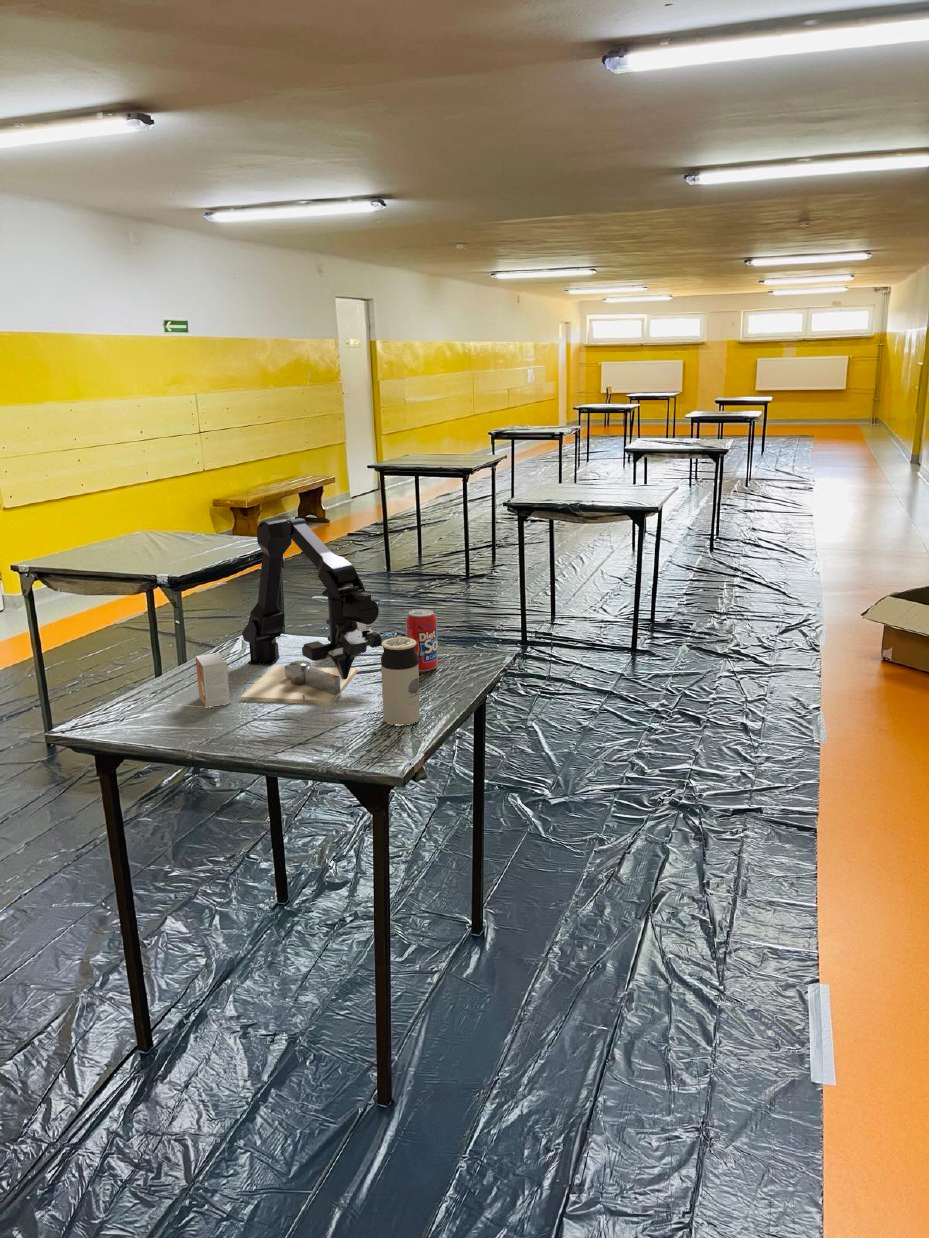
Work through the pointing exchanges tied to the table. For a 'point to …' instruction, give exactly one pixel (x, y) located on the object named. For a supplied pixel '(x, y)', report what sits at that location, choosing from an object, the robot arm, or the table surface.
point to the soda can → (423, 637)
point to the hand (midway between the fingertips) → (344, 679)
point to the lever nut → (312, 677)
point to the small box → (212, 679)
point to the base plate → (292, 688)
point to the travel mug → (400, 681)
